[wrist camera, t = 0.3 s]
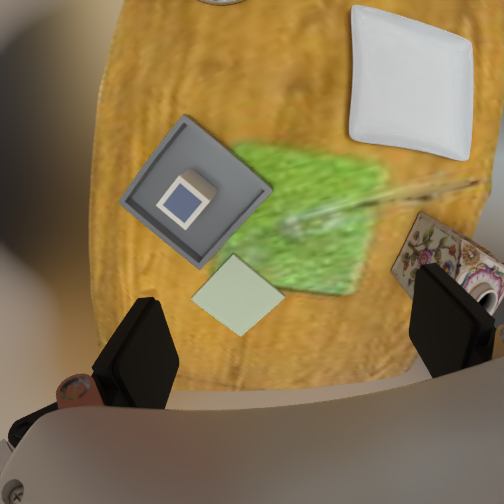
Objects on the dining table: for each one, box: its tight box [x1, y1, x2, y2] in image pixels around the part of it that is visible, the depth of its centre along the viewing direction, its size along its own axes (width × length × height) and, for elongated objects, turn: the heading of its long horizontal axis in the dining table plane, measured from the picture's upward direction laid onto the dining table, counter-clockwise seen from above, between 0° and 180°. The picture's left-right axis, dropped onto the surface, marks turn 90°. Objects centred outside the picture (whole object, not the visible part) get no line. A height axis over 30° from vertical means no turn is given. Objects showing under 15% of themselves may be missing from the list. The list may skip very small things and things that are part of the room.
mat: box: [191, 253, 285, 336], centre depth 50 cm, size 11×11×1 cm
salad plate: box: [349, 5, 473, 161], centre depth 35 cm, size 21×21×3 cm
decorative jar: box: [391, 212, 504, 316], centre depth 38 cm, size 12×12×18 cm
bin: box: [118, 114, 273, 270], centre depth 43 cm, size 16×16×3 cm
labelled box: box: [156, 168, 218, 230], centre depth 41 cm, size 5×5×7 cm
